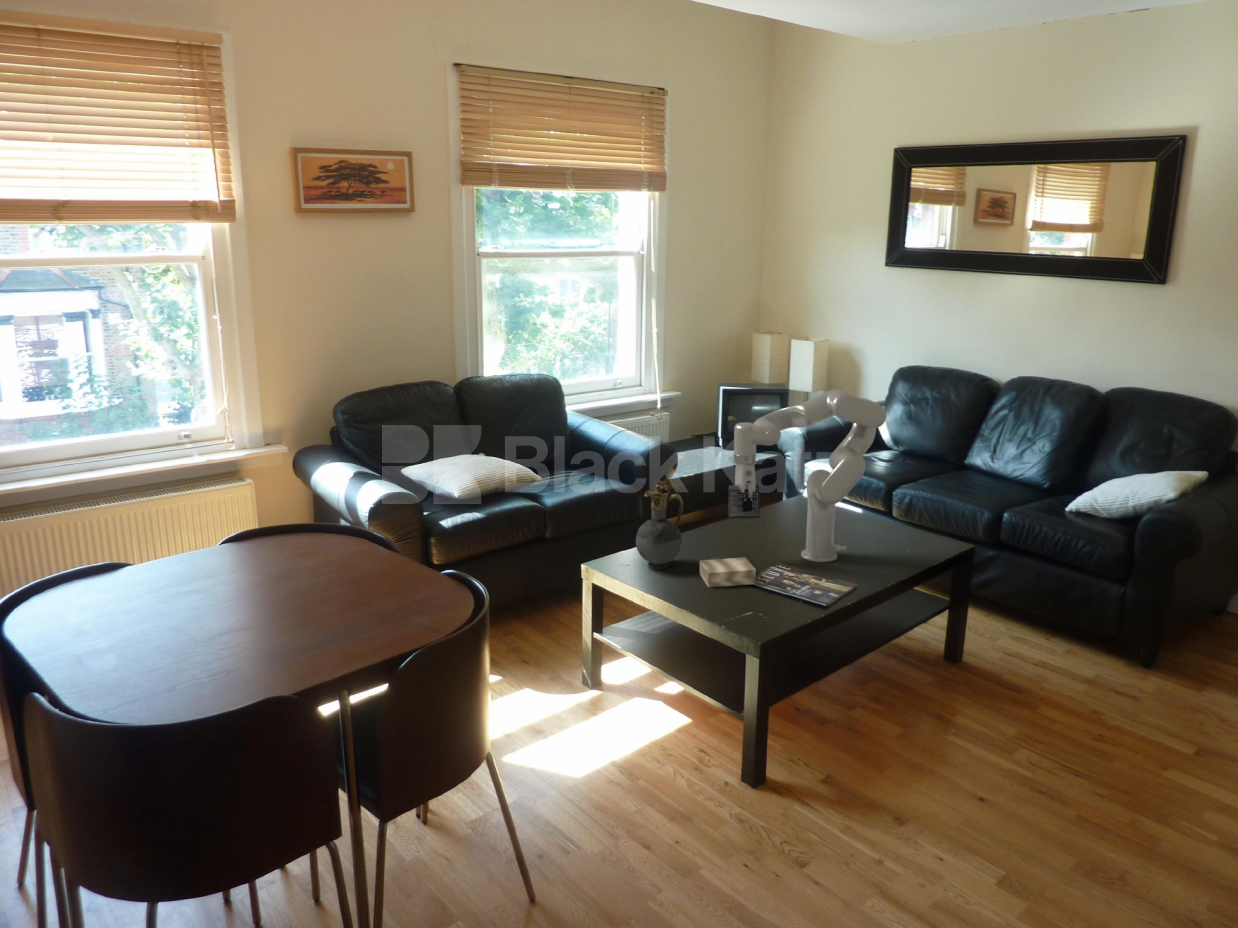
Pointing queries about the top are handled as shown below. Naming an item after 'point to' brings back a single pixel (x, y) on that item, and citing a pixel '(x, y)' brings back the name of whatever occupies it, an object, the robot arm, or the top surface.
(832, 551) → the robot arm
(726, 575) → the birch riser
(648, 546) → the pitcher
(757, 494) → the small box
